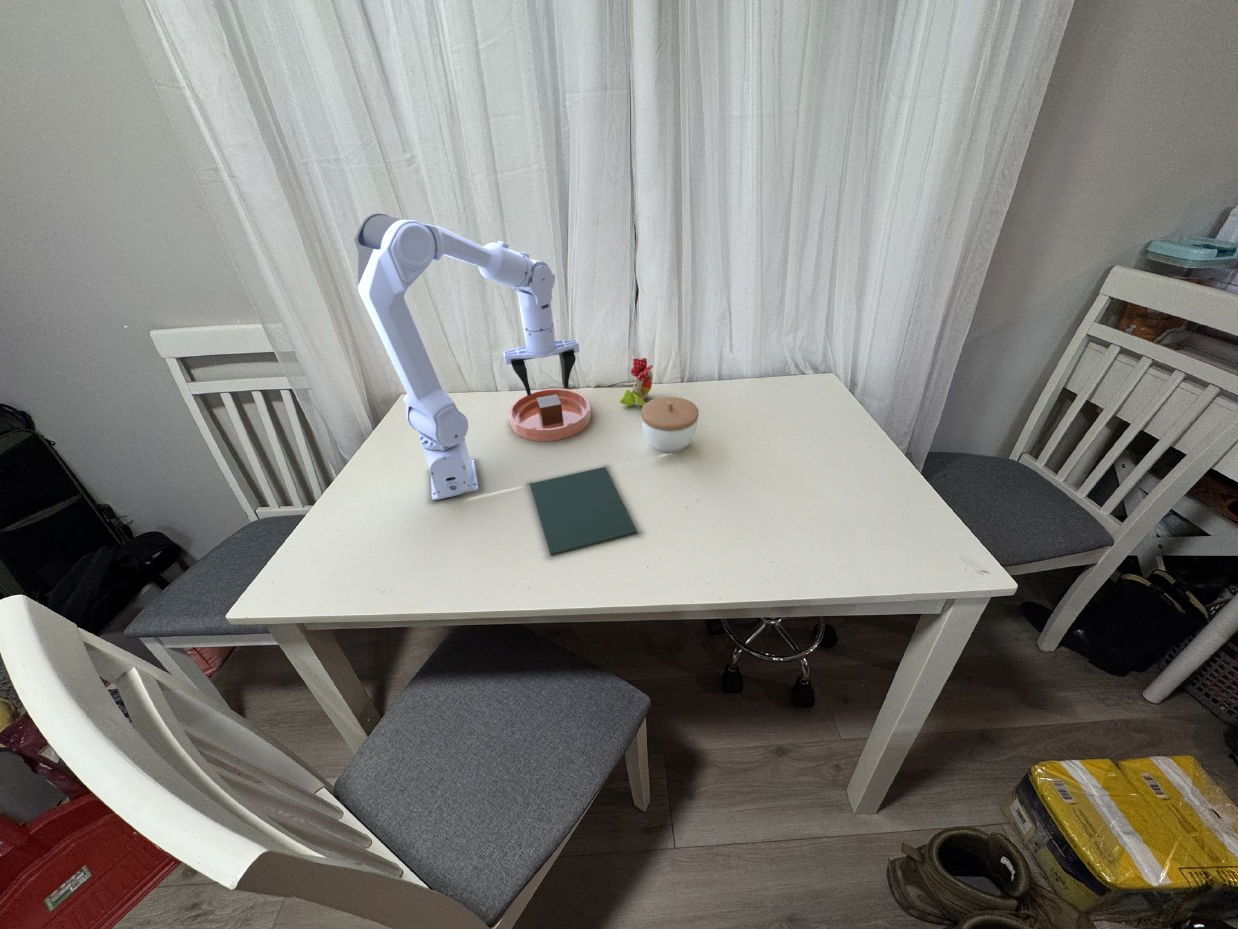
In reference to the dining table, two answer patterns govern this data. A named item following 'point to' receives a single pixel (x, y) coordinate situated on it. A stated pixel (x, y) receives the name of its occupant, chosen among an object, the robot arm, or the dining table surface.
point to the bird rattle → (639, 383)
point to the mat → (581, 510)
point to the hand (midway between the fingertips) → (547, 389)
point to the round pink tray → (531, 426)
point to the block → (550, 410)
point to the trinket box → (669, 423)
